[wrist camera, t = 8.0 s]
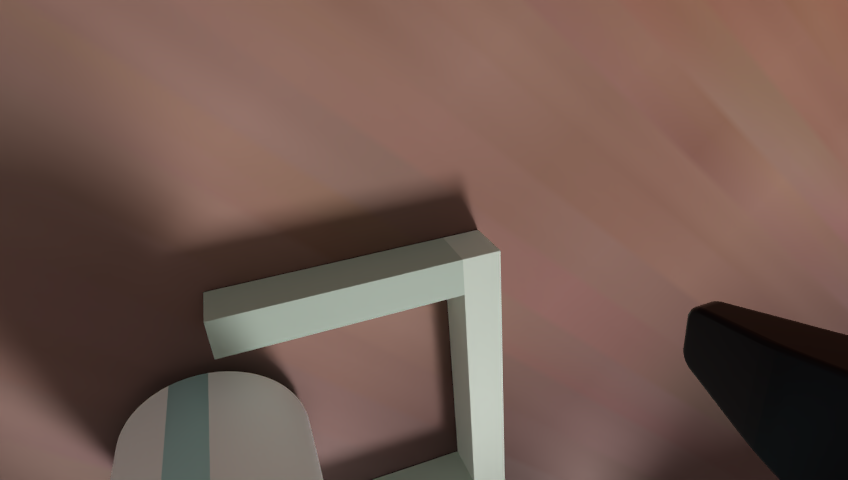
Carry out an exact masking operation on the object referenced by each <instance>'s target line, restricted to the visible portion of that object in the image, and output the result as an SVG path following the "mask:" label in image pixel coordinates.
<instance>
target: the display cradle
mask: <svg viewBox="0 0 848 480" xmlns="http://www.w3.org/2000/svg"><path fill="white" fill-rule="evenodd" d="M443 300H447V304H448V319H449V333H450V348H451V362H452V377H453V391H454V406H455V420H456V435H457V450H458V451H457V452H454V453H451V454H448V455H445V456H442V457H439V458H436V459H433V460H430V461H427V462H424V463H421V464H418V465H415V466H412V467H409V468H406V469H403V470H400V471H397V472H394V473H391V474H388V475H385V476H382V477H379V478H376V479H373V480H505V470H504V417H503V363H502V310H501V257H500V250H499V249H498V248H497V247H496V246H495V245H494V244H493V243H492V242H491V241H490V240H488V239H487V238H486V237H485V236H484V235H483V234H482V233H481V232H480V231H479V230H475V231H470V232H466V233H462V234H457V235H453V236H448V237H444V238H440V239H435V240H431V241H426V242H422V243H418V244H413V245H409V246H404V247H400V248H396V249H391V250H387V251H383V252H378V253H374V254H369V255H365V256H361V257H356V258H352V259H347V260H343V261H339V262H334V263H330V264H325V265H321V266H317V267H312V268H308V269H304V270H299V271H295V272H290V273H286V274H282V275H277V276H273V277H268V278H264V279H260V280H255V281H251V282H247V283H242V284H238V285H233V286H229V287H225V288H220V289H216V290H211V291H207V292H203V322H204V326H205V329H206V332H207V336H208V339H209V342H210V346H211V349H212V352H213V356H214V359H219V358H223V357H227V356H231V355H235V354H238V353H242V352H246V351H250V350H254V349H258V348H262V347H265V346H269V345H273V344H277V343H281V342H285V341H289V340H292V339H296V338H300V337H304V336H308V335H312V334H316V333H319V332H323V331H327V330H331V329H335V328H339V327H343V326H347V325H350V324H354V323H358V322H362V321H366V320H370V319H374V318H377V317H381V316H385V315H389V314H393V313H397V312H401V311H404V310H408V309H412V308H416V307H420V306H424V305H428V304H431V303H435V302H439V301H443Z"/></svg>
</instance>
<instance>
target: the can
mask: <svg viewBox="0 0 848 480" xmlns="http://www.w3.org/2000/svg"><path fill="white" fill-rule="evenodd" d="M110 480H323V476H322V472H321V468H320V463H319V459H318V455H317V451H316V447H315V443H314V439H313V434H312V430H311V426H310V422H309V418H308V415H307V412H306V410H305V408H304V406H303V404H302V403H301V401H300V400H299V399H298V398H297V397H296V395H295V394H294V393H293V392H291V391H290V390H289V389H288V388H286V387H285V386H283V385H282V384H280V383H278V382H276V381H274V380H272V379H270V378H267V377H264V376H261V375H257V374H252V373H247V372H238V371H223V372H212V373H206V374H201V375H196V376H193V377H189V378H186V379H183V380H181V381H178V382H176V383H174V384H171V385H169V386H167V387H165V388H164V389H162V390H160V391H158V392H157V393H155V394H154V395H152V396H151V397H150V398H148V399H147V400H146V401H145V402H143V403H142V404H141V405H140V406H139V407H138V408H137V409H136V410H135V411H134V413H133V414H132V415H131V416H130V417H129V419H128V420H127V422H126V423H125V425H124V427H123V429H122V430H121V433H120V435H119V438H118V441H117V445H116V450H115V455H114V461H113V467H112V472H111V478H110Z"/></svg>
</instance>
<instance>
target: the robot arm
mask: <svg viewBox="0 0 848 480" xmlns="http://www.w3.org/2000/svg"><path fill="white" fill-rule="evenodd" d="M683 353H684V358H685V361H686V363H687V365H688V367H689V368H690V369H691V371H692V372H693V373H694V375H695V376H696V377H697V379H698V380H699V381H700V383H701V384H702V385H703V386H704V388H705V389H706V390H707V392H708V393H709V394H710V396H711V397H712V398H713V399H714V401H715V402H716V403H717V405H718V406H719V407H720V409H721V410H722V411H723V412H724V414H725V415H726V416H727V418H728V419H729V420H730V422H731V423H732V424H733V426H734V427H735V428H736V429H737V431H738V432H739V433H740V435H741V436H742V437H743V438H744V440H745V441H746V442H747V443H748V445H749V446H750V447H751V448H752V450H753V451H754V452H755V453H756V454H757V455H758V456H759V458H760V459H761V460H762V461H763V462H764V463H765V464H766V465H767V467H768V468H769V469H770V470H771V471H772V472H773V473H774V474H775V475H776V476H777V477H778V478H779V480H848V335H845V334H841V333H837V332H833V331H830V330H826V329H822V328H818V327H815V326H811V325H807V324H803V323H799V322H796V321H792V320H788V319H784V318H780V317H777V316H773V315H769V314H765V313H761V312H758V311H754V310H750V309H746V308H743V307H739V306H735V305H731V304H727V303H724V302H719V301H714V302H710V303H707V304H703V305H700V306H697V307H695V308H693V309H692V310H691V311H690V313H689V314H688V319H687V326H686V334H685V341H684V348H683Z"/></svg>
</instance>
